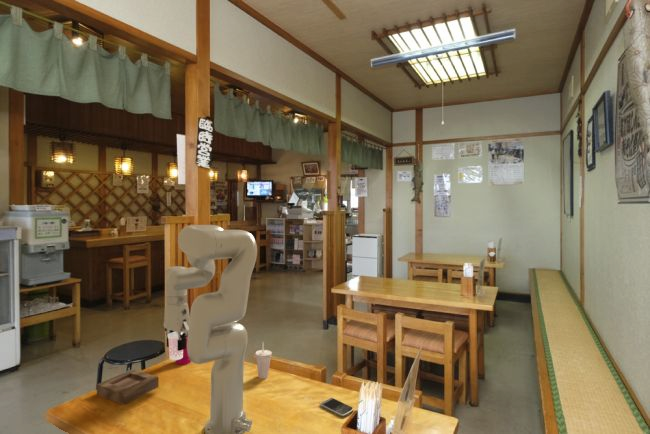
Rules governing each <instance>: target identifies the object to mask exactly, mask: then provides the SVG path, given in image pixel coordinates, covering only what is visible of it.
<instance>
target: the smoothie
mask: <svg viewBox="0 0 650 434" xmlns="http://www.w3.org/2000/svg"><path fill="white" fill-rule="evenodd" d="M264 343H265V342H264V341H262V344H261V345H262V347H261V349H259V350H256V352H255V355H254V356H255V359H256V367H257V377H259V378H258V379H260V380H265V378H266V379H268V378H269V371H270V364H271V357H272V353H273V352H272V351H271V350H268V349H265V348H264V347H265V344H264Z"/></svg>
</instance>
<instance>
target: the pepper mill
mask: <svg viewBox="0 0 650 434" xmlns="http://www.w3.org/2000/svg"><path fill="white" fill-rule="evenodd" d="M181 330H183V329H181ZM187 340H188V336H187V338H186V349H183V358H182V359H179V360H175V364H176V365H179V366H181V365H182V366H183V365H184V366H185V365H188V364H190V363H192V361H191V360H190V359H189V356H188V352H187Z"/></svg>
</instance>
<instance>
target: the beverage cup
mask: <svg viewBox="0 0 650 434" xmlns="http://www.w3.org/2000/svg"><path fill="white" fill-rule="evenodd" d="M182 334H183V332H181V335H182ZM168 340H169V347H168V352H169V353H168V354H169V355H168V356H169V360H171V361H176V360H179V359H182V358H183V350H180V351H178V340H179V338H178V334H177V332H172V333H169V334H168Z"/></svg>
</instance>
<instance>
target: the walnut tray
mask: <svg viewBox="0 0 650 434" xmlns="http://www.w3.org/2000/svg"><path fill="white" fill-rule="evenodd" d="M157 388H159V376H157V375H153V374H150V373H145V372H142V371H139V370H136V369H130V370H127V371H125V372H123V373H120V374H118V375H116V376H113V377H111V378H109V379H107V380H104V381H102V382H99V383H97V384H96V396H97V397H100V398H101V397H102V398H104V399H107V400H110V401H114V402H116V403H119V404H122V405H126V404H128V403H131V402H132V401H135V400H136V399H138V398H140V397H142V396H144V395H145V394H147V393H150V392H151V391H154V390H156V389H157Z"/></svg>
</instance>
